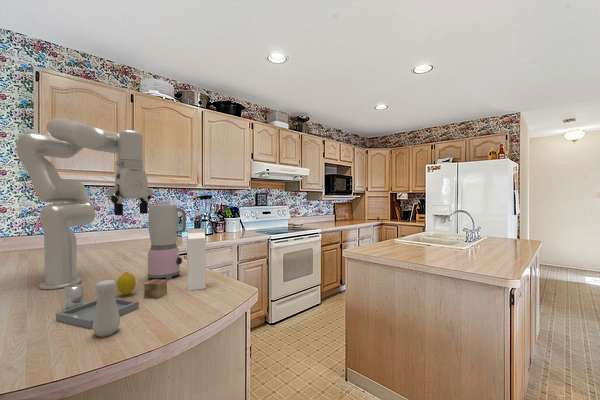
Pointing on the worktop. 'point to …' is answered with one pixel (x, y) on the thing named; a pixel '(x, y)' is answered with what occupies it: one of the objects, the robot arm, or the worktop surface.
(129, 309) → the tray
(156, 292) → the walnut block
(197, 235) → the milk
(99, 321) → the salt shaker
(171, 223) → the blender
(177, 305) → the worktop surface
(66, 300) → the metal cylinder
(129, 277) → the lemon
